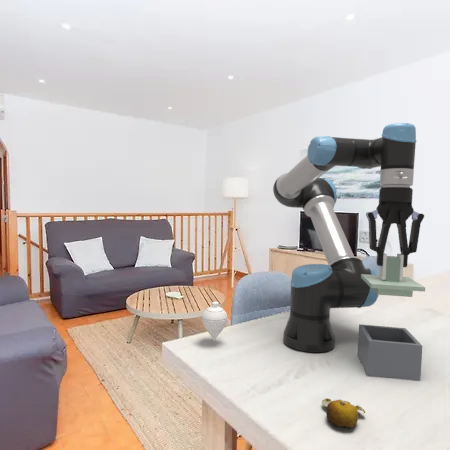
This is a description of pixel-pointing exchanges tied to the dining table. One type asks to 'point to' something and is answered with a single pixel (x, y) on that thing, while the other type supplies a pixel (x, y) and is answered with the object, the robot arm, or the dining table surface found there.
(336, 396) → the dining table surface
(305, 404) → the dining table surface
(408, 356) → the storage box
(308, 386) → the dining table surface
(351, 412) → the fruit
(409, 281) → the lid
